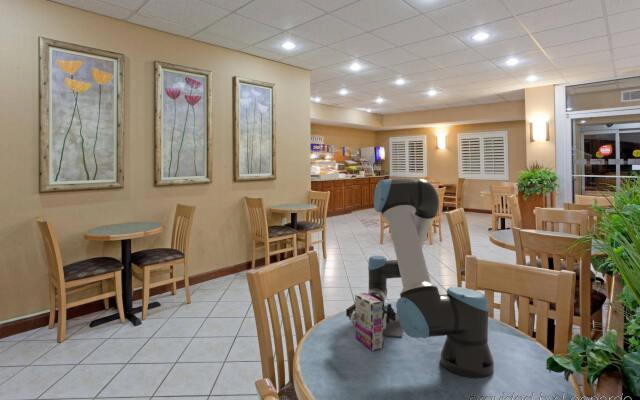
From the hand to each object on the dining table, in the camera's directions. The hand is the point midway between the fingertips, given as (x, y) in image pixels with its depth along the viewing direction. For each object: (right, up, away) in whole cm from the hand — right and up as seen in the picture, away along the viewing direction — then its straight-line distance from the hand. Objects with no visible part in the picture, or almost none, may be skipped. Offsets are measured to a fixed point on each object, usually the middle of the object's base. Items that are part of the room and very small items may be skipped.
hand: (367, 323), depth 123 cm
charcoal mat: (+8, -7, +20) cm, 23 cm away
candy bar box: (+1, -8, +4) cm, 9 cm away
